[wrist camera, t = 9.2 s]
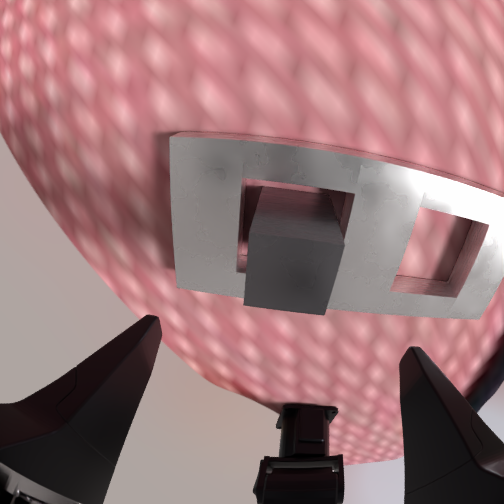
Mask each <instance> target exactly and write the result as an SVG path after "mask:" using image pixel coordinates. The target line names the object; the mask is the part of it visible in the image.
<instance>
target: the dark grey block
mask: <svg viewBox="0 0 504 504" xmlns="http://www.w3.org/2000/svg"><path fill="white" fill-rule="evenodd" d="M344 247H345V243H344V240H343V237H342V233H341V230H340V227H339V224H338V220H337V217H336V214H335V211H334V208H333V205H332V202H331V199H330V196H329V195H324V194H317V193H311V192H304V191H296V190H289V189H281V188H274V187H265V186H263V187H262V191H261V194H260V197H259V201H258V204H257V208H256V211H255V214H254V218H253V221H252V224H251V228H250V231H249V241H248V254H247V266H246V279H245V291H244V304H243V305H245V306H252V307H259V308H267V309H274V310H282V311H290V312H298V313H307V314H316V315H325V312H326V309H327V306H328V302H329V299H330V296H331V293H332V289H333V286H334V283H335V279H336V276H337V273H338V269H339V266H340V262H341V258H342V255H343V251H344Z"/></svg>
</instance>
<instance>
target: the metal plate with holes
mask: <svg viewBox="0 0 504 504" xmlns="http://www.w3.org/2000/svg"><path fill="white" fill-rule="evenodd" d="M169 150H170V194H171V216H172V233H173V247H174V260H175V271H176V282H177V288H182V289H188V290H194V291H200V292H207V293H213V294H219V295H226V296H232V297H239V298H244V291H245V279H246V266H247V256H244V255H241V250H242V236H243V221H244V206H245V192H246V178H248V179H257V180H266V181H274V182H282V183H290V184H297V185H304V186H311V187H318V188H324V189H331V190H337V191H343V192H347V193H346V198H345V202H344V207H343V211H342V216H341V220H340V225H339V227H340V230H341V233H342V237H343V240H344V243H345V247H344V251H343V255H342V258H341V262H340V266H339V269H338V273H337V276H336V279H335V283H334V286H333V289H332V293H331V296H330V299H329V302H328V306H327V309H335V310H345V311H355V312H366V313H377V314H390V315H403V316H417V317H434V318H453V319H480V317H481V316H482V314H483V312H484V311H485V309H486V307H487V306H488V304H489V302H490V301H491V299H492V297H493V295H494V293H495V292H496V290H497V288H498V286H499V284H500V282H501V280H502V278H503V276H504V193H501V192H499V191H496V190H494V189H491V188H489V187H486V186H483V185H480V184H478V183H475V182H472V181H469V180H466V179H463V178H460V177H457V176H454V175H451V174H448V173H445V172H441V171H438V170H435V169H431V168H428V167H424V166H421V165H417V164H413V163H410V162H406V161H402V160H398V159H394V158H390V157H385V156H381V155H377V154H372V153H367V152H363V151H358V150H353V149H347V148H342V147H337V146H331V145H325V144H319V143H312V142H306V141H298V140H291V139H283V138H274V137H265V136H255V135H244V134H230V133H214V132H187V131H182V132H180V133H177V134H175V135H173V136H170V137H169ZM419 207H424V208H428V209H432V210H436V211H441V212H445V213H449V214H453V215H456V216H460V217H464V218H468V219H472V220H473V222H472V224H471V227H470V230H469V232H468V235H467V238H466V240H465V243H464V245H463V248H462V250H461V252H460V255H459V257H458V259H457V262H456V264H455V266H454V268H453V271H452V273H451V275H450V277H449V279H448V281H447V282H446V281H438V280H430V279H422V278H414V277H406V276H398V275H396V274H397V271H398V269H399V266H400V263H401V261H402V258H403V255H404V253H405V250H406V247H407V244H408V241H409V239H410V236H411V233H412V230H413V227H414V224H415V220H416V217H417V214H418V211H419Z"/></svg>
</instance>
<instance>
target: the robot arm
mask: <svg viewBox="0 0 504 504" xmlns="http://www.w3.org/2000/svg"><path fill="white" fill-rule="evenodd" d="M161 338H162V330H161V325H160V320H159V317H157V316H154V315H146V316H144V317H143V318H142V319H140V320H139V321H137V322H136V323H135V324H133V325H132V326H130V327H129V328H128V329H126V330H125V331H124V332H122V333H121V334H120V335H118V336H117V337H115V338H114V339H113V340H111V341H110V342H108V343H107V344H106V345H104V346H103V347H102V348H100V349H99V350H97V351H96V352H95V353H93V354H92V355H91V356H89V357H88V358H86V359H85V360H84V361H82V362H81V363H80V364H78V365H77V367H74V368H73V369H71V370H70V371H69V372H67V373H66V374H65V375H63V376H61V377H60V378H59V379H57V380H55V381H54V382H52V383H51V384H49V385H47V386H46V387H44V388H42V389H41V390H39V391H37V392H35V393H34V394H32V395H30V396H28V397H27V398H25V399H23V400H21V401H18V402H15V403H9V404H0V504H79V503H81V504H103V502H104V499H105V496H106V493H107V490H108V487H109V484H110V481H111V478H112V476H113V473H114V470H115V466H116V464H117V461H118V458H119V456H120V453H121V450H122V447H123V445H124V442H125V439H126V437H127V434H128V431H129V429H130V426H131V424H132V421H133V418H134V416H135V413H136V411H137V408H138V406H139V403H140V400H141V398H142V396H143V393H144V391H145V388H146V386H147V383H148V381H149V378H150V376H151V373H152V370H153V366H154V363H155V359H156V355H157V352H158V348H159V344H160V342H161ZM399 372H400V405H401V416H402V427H403V442H404V462H405V464H404V465H405V496H404V504H504V443H503V442H502V441H501V440H500V439H499V438H498V437H497V436H496V435H495V433H494V432H493V431H492V430H491V429H490V428H489V427H488V426H487V425H486V424H485V423H484V422H483V420H482V419H481V418H480V417H479V415H478V414H477V413H476V412H475V410H474V409H472V407H471V406H470V404H469V403H468V402H467V401H466V399H465V398H464V397H463V396H462V395H461V393H460V392H459V391H458V390H457V389H456V387H455V386H454V385H453V384H452V383H451V382H450V380H449V379H448V378H447V377H446V376H445V375H444V373H443V372H442V371H441V370H440V369H439V368H438V367H437V365H436V364H435V363H434V362H433V361H432V360H431V359H430V358H429V356H428V355H427V354H426V353H425V352H424V351H423V350H422V349H421V348H420V347H415V346H411V347H409V348H408V349H407V351H406V353H405V354H404V356H403V357H402V359H401V361H400V364H399ZM337 413H338V408H331V407H311V406H297V405H284V406H283V408H282V410H281V413H280V416H279V418H278V421H277V424H276V428H277V429H281V439H280V449H279V457H270V456H264V460H261V461H260V468H259V473H258V476H257V479H256V482H255V485H254V488H253V493H254V494H255V495H256V498H257V504H342V503H343V499H344V468H343V454H339V455H336V456H329V424H330V423H331V422H332V420H333V419H334V417H335V416H336V415H337ZM332 470H334V472H333V471H332Z"/></svg>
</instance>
